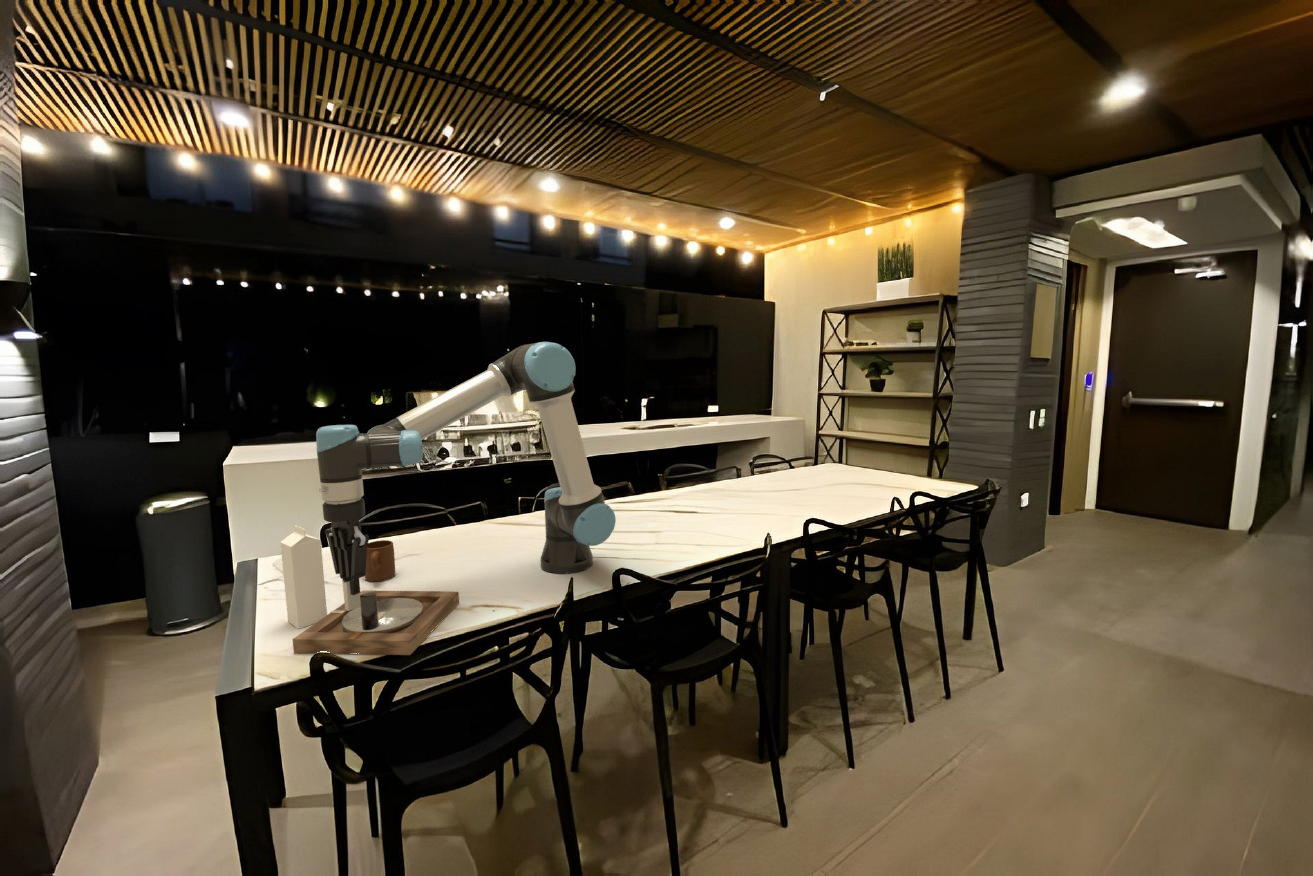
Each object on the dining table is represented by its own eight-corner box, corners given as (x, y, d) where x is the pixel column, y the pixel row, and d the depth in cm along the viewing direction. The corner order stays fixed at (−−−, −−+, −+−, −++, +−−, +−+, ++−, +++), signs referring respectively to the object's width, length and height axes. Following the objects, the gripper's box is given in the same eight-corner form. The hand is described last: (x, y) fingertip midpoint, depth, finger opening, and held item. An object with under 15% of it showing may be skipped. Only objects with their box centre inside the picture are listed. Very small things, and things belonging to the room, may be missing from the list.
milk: (316, 612, 126) (309, 521, 123) (328, 619, 122) (320, 526, 120) (287, 622, 121) (278, 527, 118) (297, 629, 117) (289, 532, 115)
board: (459, 603, 130) (458, 590, 130) (410, 655, 106) (409, 640, 106) (363, 602, 131) (362, 589, 131) (293, 653, 107) (292, 638, 107)
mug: (391, 586, 141) (389, 552, 140) (359, 590, 138) (356, 555, 137) (397, 570, 152) (395, 538, 151) (367, 574, 150) (364, 541, 148)
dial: (362, 604, 126) (360, 571, 125) (432, 601, 127) (430, 568, 126) (327, 637, 110) (324, 599, 109) (407, 634, 111) (405, 596, 110)
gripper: (308, 499, 111) (319, 607, 114) (341, 507, 104) (352, 622, 107) (345, 492, 117) (354, 594, 120) (378, 499, 110) (387, 607, 113)
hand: (353, 607), depth 113 cm, fingers closed
